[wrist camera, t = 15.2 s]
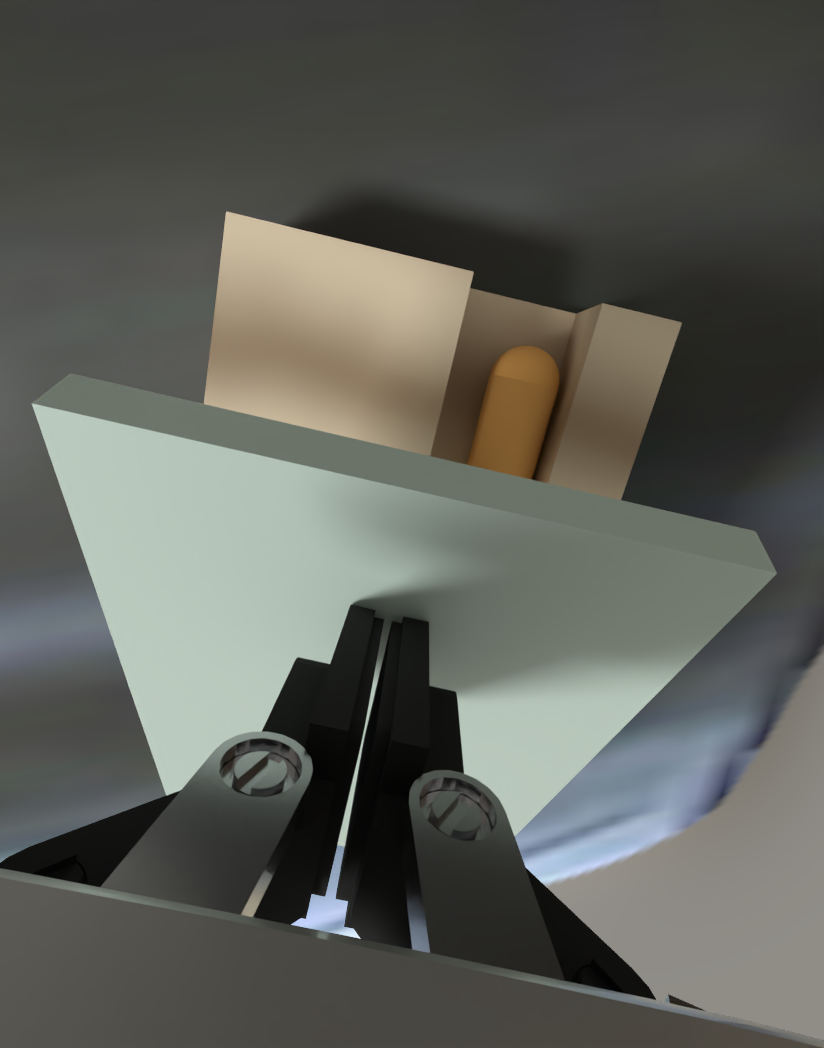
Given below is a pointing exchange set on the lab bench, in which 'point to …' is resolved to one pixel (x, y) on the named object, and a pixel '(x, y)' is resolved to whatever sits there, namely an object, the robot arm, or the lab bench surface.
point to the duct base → (420, 353)
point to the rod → (515, 412)
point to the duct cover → (377, 581)
